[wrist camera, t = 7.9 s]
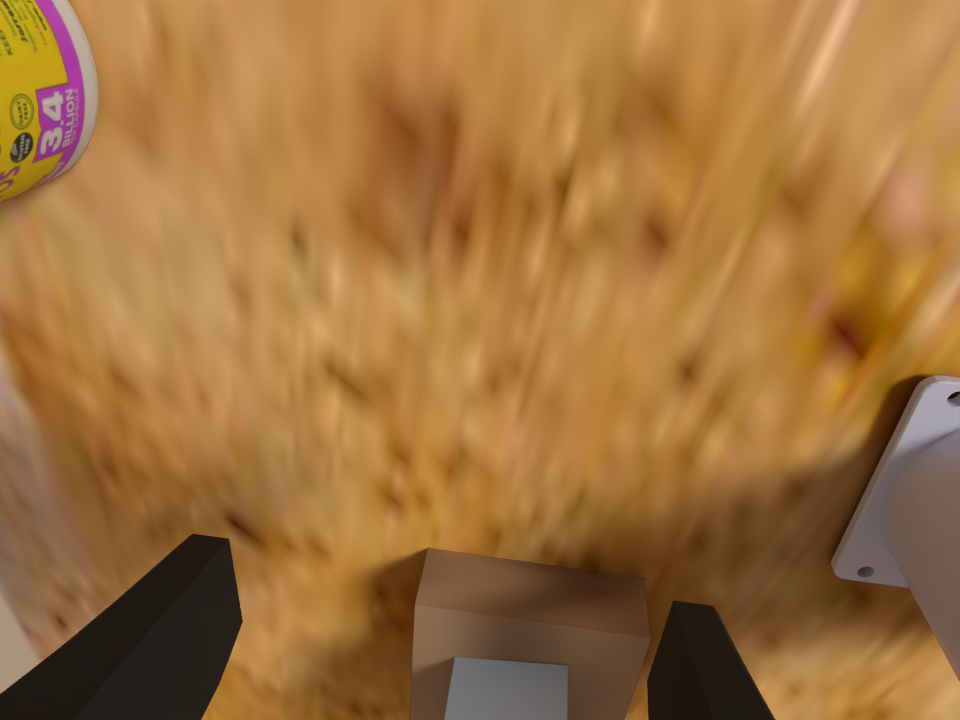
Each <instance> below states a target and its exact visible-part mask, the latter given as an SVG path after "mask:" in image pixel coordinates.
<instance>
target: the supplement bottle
mask: <svg viewBox="0 0 960 720" xmlns="http://www.w3.org/2000/svg"><path fill="white" fill-rule="evenodd" d="M98 104H99V93H98V79H97V72H96V66H95V62H94V58H93V55H92V51H91V48H90V45H89V42H88V40H87V38H86V35H85V33H84V30H83V28H82V26H81V24H80V22H79V20H78V18H77V16H76V14H75V12H74V10H73V8H72V7H71V5H70V3H69V2H68V0H0V203H1V202H3V201H5V200H8V199H10V198H12V197H15V196H17V195H19V194H22V193H24V192H26V191H28V190H31V189H33V188H35V187H37V186H39V185H41V184H43V183H46V182H48V181H50V180H52V179H54V178H56V177H58V176H59V175H61V174H62V173H63V172H65V171H66V170H68V169H69V168H70V167H71V166H72V165H73V164H74V163H75V162H76V161H77V160H78V158H79V157H80V156H81V155H82V153H83V152H84V150H85V148H86V147H87V145H88V143H89V141H90V138H91V136H92V133H93V130H94V127H95V124H96V120H97V112H98Z"/></svg>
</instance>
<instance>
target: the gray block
mask: <svg viewBox="0 0 960 720" xmlns="http://www.w3.org/2000/svg"><path fill="white" fill-rule="evenodd" d="M567 697H568V665H555V664H542V663H529V662H516V661H502V660H489V659H476V658H462V657H455V660H454V666H453V672H452V678H451V684H450V689H449V695H448V701H447V707H446V713H445V719H444V720H567Z"/></svg>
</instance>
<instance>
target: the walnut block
mask: <svg viewBox="0 0 960 720" xmlns="http://www.w3.org/2000/svg"><path fill="white" fill-rule="evenodd" d="M650 641H651V633H650V625H649V617H648V609H647V601H646V594H645V586H644V579H642V578H635V577H628V576H621V575H614V574H607V573H600V572H593V571H586V570H579V569H572V568H565V567H558V566H551V565H544V564H537V563H530V562H523V561H516V560H509V559H502V558H495V557H488V556H481V555H474V554H467V553H460V552H453V551H446V550H439V549H432V548H428V550H427V554H426V559H425V563H424V567H423V572H422V576H421V580H420V585H419V589H418V593H417V597H416V602H415V613H414V635H413V657H412V678H411V700H410V720H444V719H445V713H446V707H447V701H448V695H449V689H450V684H451V678H452V672H453V666H454V660H455V657H462V658H476V659H489V660H502V661H516V662H529V663H542V664H555V665H568V697H567V720H624V719H625V716H626V713H627V710H628V707H629V704H630V701H631V698H632V695H633V692H634V689H635V686H636V683H637V680H638V677H639V674H640V671H641V668H642V665H643V662H644V659H645V656H646V653H647V650H648V647H649V644H650Z"/></svg>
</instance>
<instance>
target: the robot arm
mask: <svg viewBox="0 0 960 720" xmlns="http://www.w3.org/2000/svg"><path fill="white" fill-rule="evenodd" d="M959 391H960V378H958V377H950V376H941V375H939V376H931V377H928V378H925V379H924V380H922V381H921V382H920V383H919V384H918V385H917V386H916V388H915V390H914V392H913V394H912V396H911V398H910V400H909V402H908V404H907V406H906V408H905V410H904V412H903V414H902V416H901V418H900V420H899V422H898V425H897V427H896V429H895V431H894V433H893V435H892V437H891V439H890V441H889V443H888V445H887V447H886V449H885V451H884V453H883V455H882V457H881V460H880V462H879V464H878V466H877V468H876V470H875V472H874V474H873V476H872V478H871V480H870V482H869V484H868V486H867V488H866V490H865V492H864V494H863V497H862V499H861V501H860V503H859V505H858V507H857V509H856V511H855V513H854V515H853V517H852V519H851V521H850V523H849V525H848V527H847V529H846V531H845V534H844V536H843V538H842V540H841V542H840V544H839V546H838V548H837V550H836V552H835V554H834V556H833V558H832V561H831V566H832V568H833V570H834V573H835V575H836V576H838V577H839V578H842V579H847V580H854V581H861V582H869V583H876V584H884V585H891V586H898V587H906V588H909V589H910V591H911V592H912V594H913V596H914V598H915V600H916V602H917V604H918V605H919V607H920V609H921V611H922V613H923V615H924V617H925V618H926V620H927V622H928V624H929V626H930V628H931V629H932V631H933V633H934V635H935V637H936V639H937V641H938V642H939V644H940V646H941V648H942V650H943V652H944V654H945V655H946V657H947V659H948V661H949V663H950V665H951V667H952V668H953V670H954V672H955V674H956V676H957V678H958V679H959V681H960V394H959V395H958V396H957V397H955V398H952V399H947V398H948V397H949V396H950V395H951V394H952V393H954V392H959ZM862 567H865V568H862ZM242 622H243V620H242V614H241V608H240V602H239V596H238V590H237V584H236V578H235V572H234V566H233V560H232V554H231V548H230V542H229V539H226V538H219V537H212V536H205V535H197V534H192V535H191V536H189V537H188V538H187V539H186V540H185V541H183V542H182V543H181V544H180V545H179V546H178V547H176V548H175V549H174V550H173V551H172V552H171V553H170V554H169V555H167V556H166V557H165V558H164V559H163V560H162V561H161V562H159V563H158V564H157V565H156V566H155V567H154V568H153V569H152V570H150V571H149V572H148V573H147V574H146V575H145V576H144V577H143V578H141V579H140V580H139V581H138V582H137V583H136V584H135V585H133V586H132V587H131V588H130V589H129V590H128V591H126V592H125V593H124V594H123V595H122V596H121V597H120V598H118V599H117V600H116V601H115V602H114V603H113V604H111V605H110V606H109V607H108V608H107V609H106V610H104V611H103V612H102V613H101V614H100V615H98V616H97V617H96V618H95V619H94V620H92V621H91V622H90V623H89V624H88V625H86V626H85V627H84V628H83V629H82V630H81V631H79V632H78V633H77V634H76V635H75V636H73V637H72V638H71V639H70V640H69V641H67V642H66V643H65V644H64V645H62V646H61V647H60V648H59V649H57V650H56V651H55V652H54V653H52V654H51V655H50V656H49V657H47V658H46V659H45V660H43V661H42V662H41V663H40V664H38V665H37V666H36V667H34V668H33V669H32V670H31V671H29V672H28V673H27V674H25V675H24V676H23V677H22V678H20V679H19V680H18V681H17V682H15V683H14V684H13V685H11V686H10V687H9V688H8V689H6V690H5V691H4V692H2V693H1V694H0V720H201V719H202V717H203V715H204V713H205V711H206V709H207V707H208V705H209V703H210V701H211V699H212V697H213V695H214V693H215V691H216V689H217V687H218V685H219V683H220V680H221V678H222V675H223V673H224V670H225V667H226V665H227V662H228V660H229V657H230V655H231V652H232V649H233V646H234V644H235V641H236V638H237V635H238V633H239V630H240V627H241V624H242ZM647 688H648V716H649V720H775V718H774V717H773V715H772V713H771V711H770V709H769V708H768V706H767V704H766V702H765V701H764V699H763V697H762V695H761V694H760V692H759V690H758V688H757V686H756V684H755V683H754V681H753V679H752V677H751V675H750V673H749V672H748V670H747V668H746V666H745V664H744V662H743V660H742V659H741V657H740V655H739V653H738V651H737V649H736V647H735V645H734V643H733V641H732V639H731V637H730V635H729V634H728V632H727V630H726V628H725V626H724V624H723V622H722V620H721V618H720V616H719V614H718V612H717V611H716V609H715V608H714V607H713V606H708V605H701V604H693V603H686V602H679V601H673V604H672V607H671V610H670V613H669V616H668V619H667V622H666V625H665V628H664V631H663V634H662V637H661V640H660V643H659V646H658V649H657V652H656V655H655V658H654V661H653V664H652V668H651V671H650V674H649V677H648V680H647Z"/></svg>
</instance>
